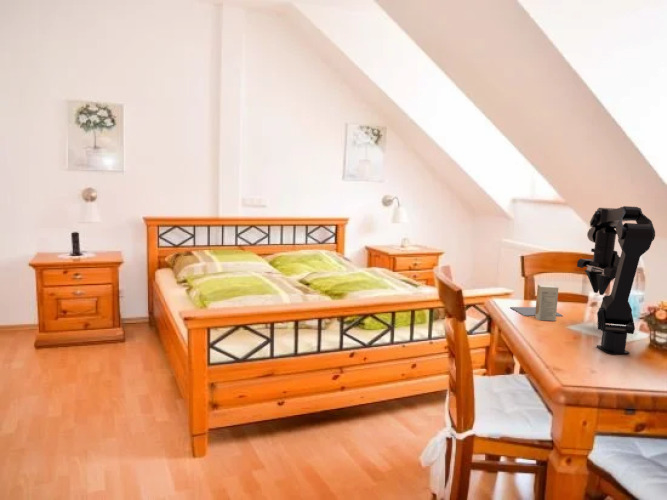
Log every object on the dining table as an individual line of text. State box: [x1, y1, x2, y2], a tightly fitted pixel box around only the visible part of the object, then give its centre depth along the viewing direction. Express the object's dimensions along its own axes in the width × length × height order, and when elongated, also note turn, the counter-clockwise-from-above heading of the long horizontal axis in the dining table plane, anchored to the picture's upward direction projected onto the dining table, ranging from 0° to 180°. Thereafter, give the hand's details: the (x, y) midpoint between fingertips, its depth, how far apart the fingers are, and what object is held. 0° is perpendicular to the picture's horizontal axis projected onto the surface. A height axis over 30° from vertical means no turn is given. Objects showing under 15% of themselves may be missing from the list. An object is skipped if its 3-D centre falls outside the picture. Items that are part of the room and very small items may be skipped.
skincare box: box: [534, 284, 559, 322], centre depth 188 cm, size 6×4×12 cm
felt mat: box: [509, 306, 564, 317], centre depth 198 cm, size 11×15×1 cm
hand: (598, 293), depth 174 cm, fingers open, 3 cm apart
